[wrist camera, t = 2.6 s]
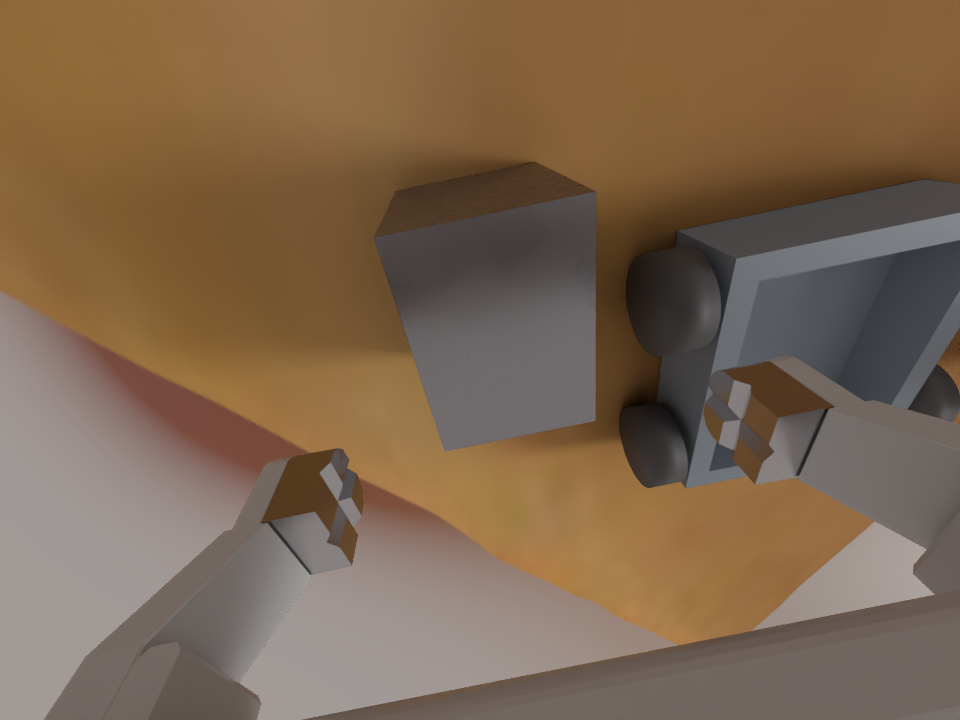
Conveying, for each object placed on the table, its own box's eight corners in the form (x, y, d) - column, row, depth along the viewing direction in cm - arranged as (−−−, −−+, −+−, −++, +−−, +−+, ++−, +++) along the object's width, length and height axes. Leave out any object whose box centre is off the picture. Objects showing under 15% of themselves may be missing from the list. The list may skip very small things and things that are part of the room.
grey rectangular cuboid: (396, 190, 13) (374, 238, 8) (534, 161, 13) (596, 191, 8) (441, 353, 17) (444, 451, 12) (548, 330, 17) (595, 420, 12)
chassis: (628, 240, 15) (684, 276, 12) (974, 169, 15) (1130, 184, 12) (618, 444, 22) (651, 504, 18) (856, 396, 22) (932, 448, 18)
